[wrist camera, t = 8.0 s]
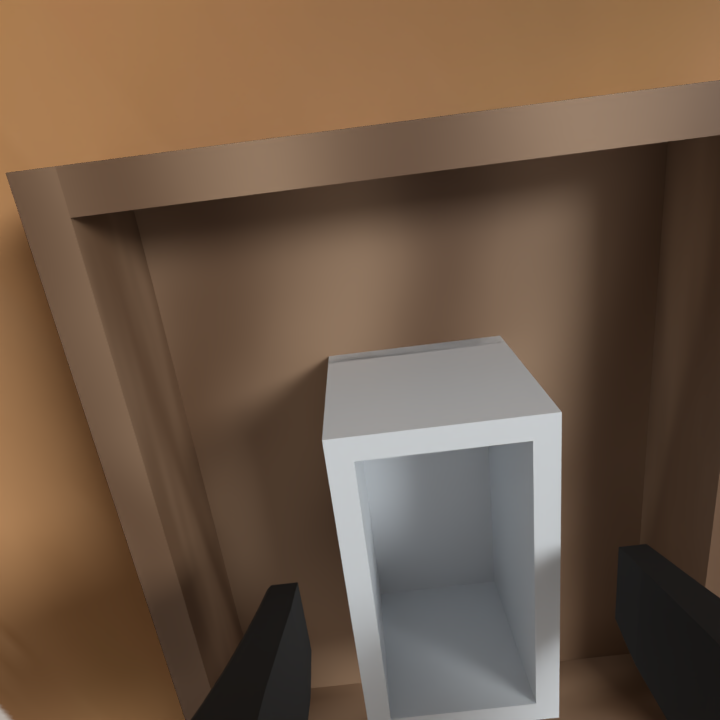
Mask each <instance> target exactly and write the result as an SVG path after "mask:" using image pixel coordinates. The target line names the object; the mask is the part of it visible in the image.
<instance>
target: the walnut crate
mask: <svg viewBox="0 0 720 720" xmlns="http://www.w3.org/2000/svg"><path fill="white" fill-rule="evenodd" d="M6 176H7V179H8V182H9V185H10V188H11V191H12V194H13V197H14V200H15V203H16V206H17V209H18V212H19V215H20V218H21V221H22V224H23V227H24V230H25V233H26V236H27V240H28V243H29V246H30V249H31V252H32V255H33V258H34V261H35V264H36V267H37V270H38V273H39V276H40V279H41V282H42V285H43V288H44V291H45V294H46V297H47V300H48V303H49V306H50V309H51V313H52V316H53V319H54V322H55V325H56V328H57V331H58V334H59V337H60V340H61V343H62V346H63V349H64V352H65V355H66V358H67V361H68V364H69V367H70V370H71V373H72V376H73V379H74V383H75V386H76V389H77V392H78V395H79V398H80V401H81V404H82V407H83V410H84V413H85V416H86V419H87V422H88V425H89V428H90V431H91V434H92V437H93V440H94V443H95V446H96V449H97V452H98V456H99V459H100V462H101V465H102V468H103V471H104V474H105V477H106V480H107V483H108V486H109V489H110V492H111V495H112V498H113V501H114V504H115V507H116V510H117V513H118V516H119V519H120V522H121V526H122V529H123V532H124V535H125V538H126V541H127V544H128V547H129V550H130V553H131V556H132V559H133V562H134V565H135V568H136V571H137V574H138V577H139V580H140V583H141V586H142V589H143V592H144V596H145V599H146V602H147V605H148V608H149V611H150V614H151V617H152V620H153V623H154V626H155V629H156V632H157V635H158V638H159V641H160V644H161V647H162V650H163V653H164V656H165V659H166V662H167V665H168V669H169V672H170V675H171V678H172V681H173V684H174V687H175V690H176V693H177V696H178V699H179V702H180V705H181V708H182V711H183V714H184V717H185V720H191V718H192V717H193V716H194V714H195V713H196V711H197V710H198V709H199V707H200V706H201V704H202V703H203V701H204V700H205V698H206V697H207V695H208V693H209V692H210V690H211V689H212V687H213V686H214V684H215V683H216V681H217V680H218V678H219V677H220V675H221V673H222V672H223V670H224V669H225V667H226V665H227V664H228V662H229V660H230V658H231V657H232V655H233V653H234V652H235V650H236V648H237V646H238V645H239V643H240V641H241V640H242V638H243V636H244V634H245V632H246V630H247V629H248V627H249V625H250V623H251V621H252V619H253V617H254V615H255V614H256V612H257V610H258V608H259V606H260V604H261V602H262V600H263V597H264V595H265V593H266V591H267V589H268V588H269V587H270V586H271V585H278V584H287V583H296V582H298V586H299V591H300V596H301V601H302V606H303V611H304V616H305V620H306V625H307V630H308V635H309V640H310V645H311V650H312V652H311V699H310V707H309V716H308V720H368V719H367V713H366V706H365V700H364V694H363V688H362V682H361V676H360V670H359V664H358V658H357V651H356V645H355V639H354V633H353V627H352V621H351V615H350V609H349V602H348V596H347V590H346V584H345V578H344V572H343V566H342V560H341V553H340V547H339V541H338V535H337V529H336V523H335V517H334V511H333V505H332V498H331V492H330V486H329V480H328V474H327V468H326V462H325V456H324V449H323V443H322V434H323V422H324V410H325V397H326V385H327V373H328V360H329V356H336V355H344V354H352V353H360V352H369V351H377V350H385V349H394V348H402V347H410V346H418V345H427V344H435V343H443V342H452V341H460V340H468V339H476V338H485V337H493V336H501V337H502V339H503V340H504V341H505V342H506V344H507V345H508V346H509V347H510V348H511V350H512V351H513V352H514V353H515V355H516V356H517V357H518V358H519V360H520V361H521V362H522V363H523V365H524V366H525V367H526V368H527V370H528V371H529V372H530V373H531V374H532V376H533V377H534V378H535V379H536V381H537V382H538V383H539V384H540V386H541V387H542V388H543V389H544V391H545V392H546V393H547V394H548V396H549V397H550V398H551V399H552V400H553V402H554V403H555V404H556V405H557V407H558V408H559V409H560V410H561V412H562V447H561V557H560V667H559V718H549V719H540V720H667V719H666V717H665V715H664V714H663V712H662V710H661V709H660V707H659V705H658V703H657V702H656V700H655V698H654V697H653V695H652V693H651V691H650V690H649V688H648V686H647V684H646V683H645V681H644V679H643V677H642V676H641V674H640V672H639V670H638V668H637V667H636V665H635V663H634V661H633V658H632V656H631V654H630V652H629V650H628V647H627V645H626V643H625V640H624V638H623V636H622V633H621V631H620V629H619V626H618V624H617V622H616V619H615V609H616V589H617V570H618V551H619V547H623V546H632V545H641V544H647V545H649V546H650V547H651V548H653V549H654V550H655V551H657V552H658V553H660V554H661V555H662V556H664V557H665V558H666V559H668V560H669V561H670V562H672V563H673V564H674V565H676V566H677V567H678V568H680V569H681V570H682V571H684V572H685V573H686V574H688V575H689V576H690V577H692V578H693V579H695V580H696V581H697V582H699V583H700V584H701V585H703V586H704V587H705V588H707V589H708V590H710V591H711V592H712V593H714V594H715V595H716V596H718V597H719V598H720V80H717V81H709V82H702V83H694V84H686V85H679V86H671V87H663V88H655V89H648V90H640V91H632V92H625V93H617V94H609V95H602V96H594V97H586V98H578V99H571V100H563V101H555V102H548V103H540V104H532V105H525V106H517V107H509V108H501V109H494V110H486V111H478V112H471V113H463V114H455V115H448V116H440V117H432V118H424V119H417V120H409V121H401V122H394V123H386V124H378V125H371V126H363V127H355V128H347V129H340V130H332V131H324V132H317V133H309V134H301V135H294V136H286V137H278V138H270V139H263V140H255V141H247V142H240V143H232V144H224V145H217V146H209V147H201V148H193V149H186V150H178V151H170V152H163V153H155V154H147V155H140V156H132V157H124V158H116V159H109V160H101V161H93V162H86V163H78V164H70V165H63V166H55V167H47V168H39V169H32V170H24V171H16V172H9V173H6Z"/></svg>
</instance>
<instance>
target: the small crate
mask: <svg viewBox="0 0 720 720" xmlns="http://www.w3.org/2000/svg"><path fill="white" fill-rule="evenodd" d="M322 443H323V449H324V456H325V462H326V468H327V474H328V480H329V486H330V492H331V498H332V505H333V511H334V517H335V523H336V529H337V535H338V541H339V547H340V553H341V560H342V566H343V572H344V578H345V584H346V590H347V596H348V602H349V609H350V615H351V621H352V627H353V633H354V639H355V645H356V651H357V658H358V664H359V670H360V676H361V682H362V688H363V694H364V700H365V706H366V713H367V719H368V720H540V719H549V718H559V667H560V557H561V447H562V412H561V410H560V409H559V408H558V407H557V405H556V404H555V403H554V402H553V400H552V399H551V398H550V397H549V396H548V394H547V393H546V392H545V391H544V389H543V388H542V387H541V386H540V384H539V383H538V382H537V381H536V379H535V378H534V377H533V376H532V374H531V373H530V372H529V371H528V370H527V368H526V367H525V366H524V365H523V363H522V362H521V361H520V360H519V358H518V357H517V356H516V355H515V353H514V352H513V351H512V350H511V348H510V347H509V346H508V345H507V344H506V342H505V341H504V340H503V339H502V337H501V336H493V337H485V338H476V339H468V340H460V341H452V342H443V343H435V344H427V345H418V346H410V347H402V348H394V349H385V350H377V351H369V352H360V353H352V354H344V355H336V356H329V360H328V373H327V385H326V397H325V410H324V422H323V434H322Z"/></svg>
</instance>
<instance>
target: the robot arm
mask: <svg viewBox="0 0 720 720" xmlns="http://www.w3.org/2000/svg"><path fill="white" fill-rule="evenodd" d="M615 619H616V622H617V624H618V626H619V629H620V631H621V633H622V636H623V638H624V640H625V643H626V645H627V647H628V650H629V652H630V654H631V656H632V658H633V661H634V663H635V665H636V667H637V668H638V670H639V672H640V674H641V676H642V677H643V679H644V681H645V683H646V684H647V686H648V688H649V690H650V691H651V693H652V695H653V697H654V698H655V700H656V702H657V703H658V705H659V707H660V709H661V710H662V712H663V714H664V715H665V717H666V719H667V720H720V598H719V597H718V596H716V595H715V594H714V593H712V592H711V591H710V590H708V589H707V588H705V587H704V586H703V585H701V584H700V583H699V582H697V581H696V580H695V579H693V578H692V577H690V576H689V575H688V574H686V573H685V572H684V571H682V570H681V569H680V568H678V567H677V566H676V565H674V564H673V563H672V562H670V561H669V560H668V559H666V558H665V557H664V556H662V555H661V554H660V553H658V552H657V551H655V550H654V549H653V548H651V547H650V546H649V545H647V544H641V545H632V546H623V547H619V551H618V570H617V589H616V609H615ZM311 652H312V650H311V645H310V640H309V635H308V630H307V625H306V620H305V616H304V611H303V606H302V601H301V596H300V591H299V586H298V582H296V583H287V584H278V585H271V586H270V587H269V588H268V589H267V591H266V593H265V595H264V597H263V600H262V602H261V604H260V606H259V608H258V610H257V612H256V614H255V615H254V617H253V619H252V621H251V623H250V625H249V627H248V629H247V630H246V632H245V634H244V636H243V638H242V640H241V641H240V643H239V645H238V646H237V648H236V650H235V652H234V653H233V655H232V657H231V658H230V660H229V662H228V664H227V665H226V667H225V669H224V670H223V672H222V673H221V675H220V677H219V678H218V680H217V681H216V683H215V684H214V686H213V687H212V689H211V690H210V692H209V693H208V695H207V697H206V698H205V700H204V701H203V703H202V704H201V706H200V707H199V709H198V710H197V711H196V713H195V714H194V716H193V717H192V718H191V720H308V716H309V707H310V699H311Z"/></svg>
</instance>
